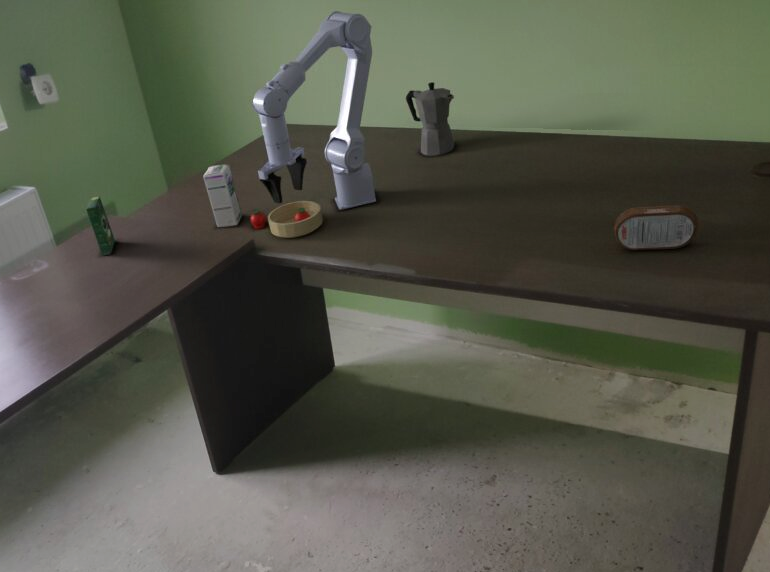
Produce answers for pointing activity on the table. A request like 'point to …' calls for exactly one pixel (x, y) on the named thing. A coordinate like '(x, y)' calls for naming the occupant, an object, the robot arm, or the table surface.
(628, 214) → the tin
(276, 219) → the bowl
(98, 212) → the coffee box
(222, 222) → the white carton
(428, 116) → the coffeepot
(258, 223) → the strawberry
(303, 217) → the strawberry
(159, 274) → the table surface
